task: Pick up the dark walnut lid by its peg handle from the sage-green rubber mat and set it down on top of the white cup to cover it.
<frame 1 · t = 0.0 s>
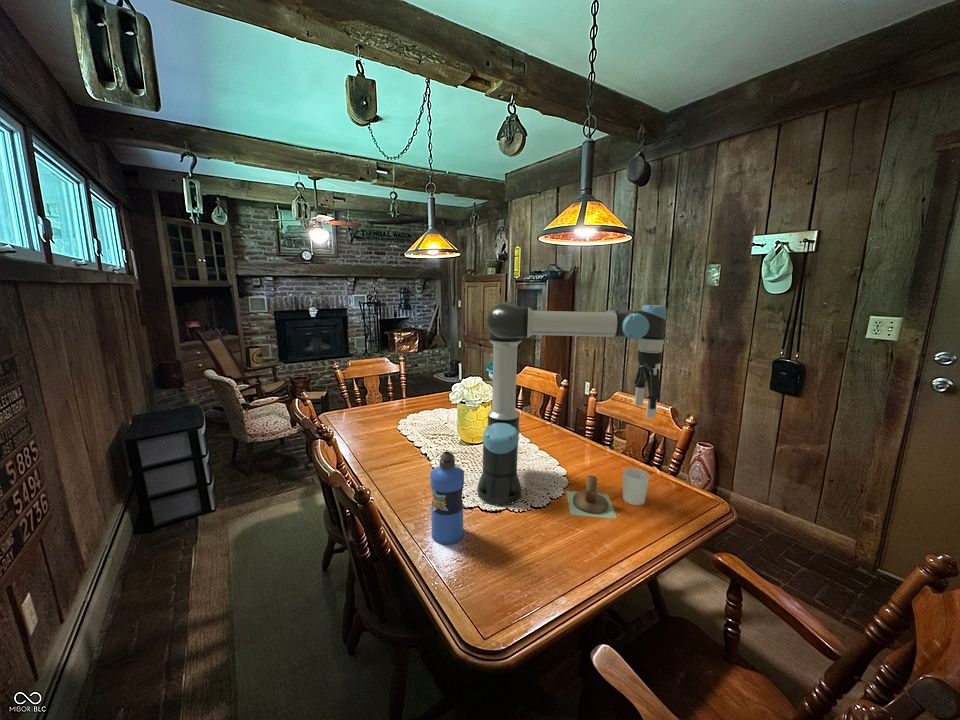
hand: (644, 411, 130), 28 cm above the table, fingers open, 13 cm apart
mat: (589, 505, 122), on the table
white cup: (633, 501, 125), on the table
water bottle: (447, 534, 107), on the table
lid: (590, 503, 122), point 1 cm above the table, touching mat
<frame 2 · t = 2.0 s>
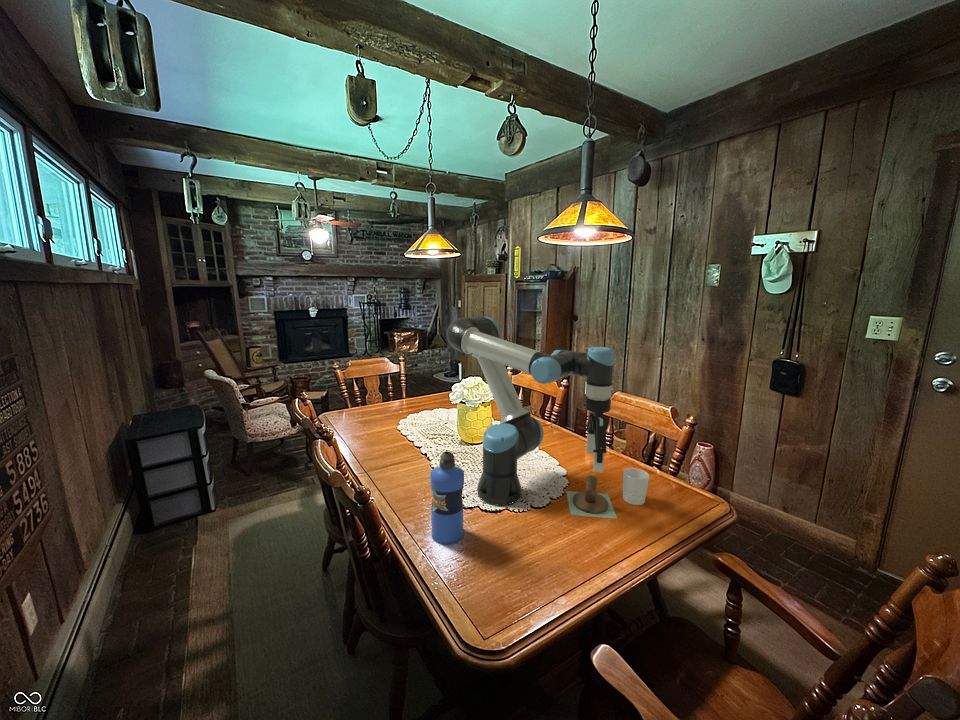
hand: (594, 461, 119), 15 cm above the table, fingers open, 13 cm apart
nothing on the table moved.
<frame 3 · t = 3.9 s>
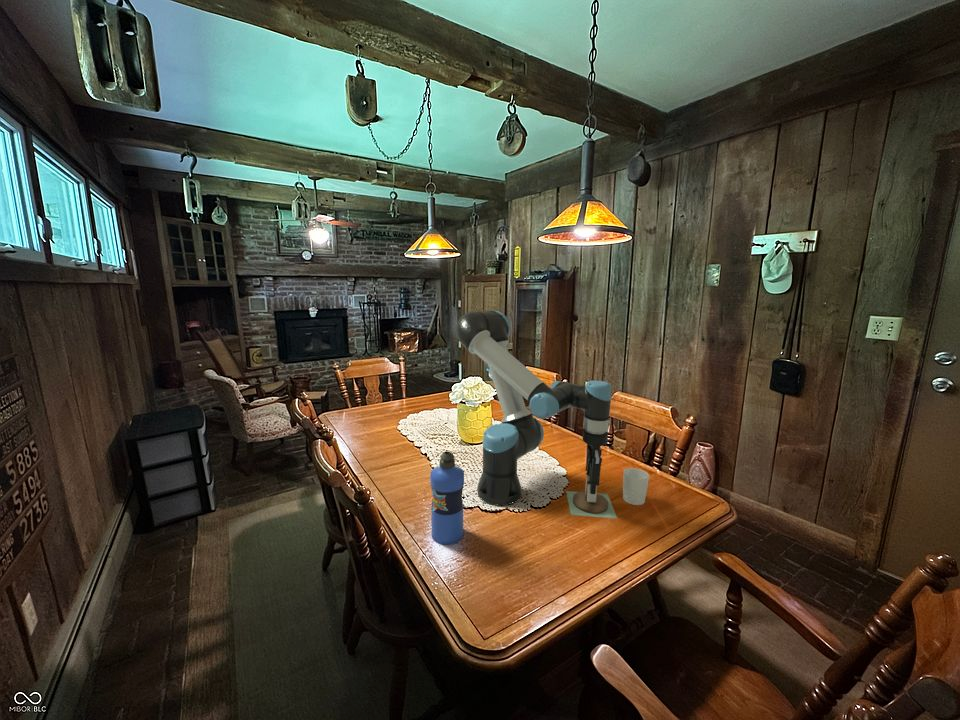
hand: (590, 498, 121), 3 cm above the table, fingers closed on lid, 3 cm apart
lid: (590, 503, 122), point 1 cm above the table, touching gripper
everything else where it was.
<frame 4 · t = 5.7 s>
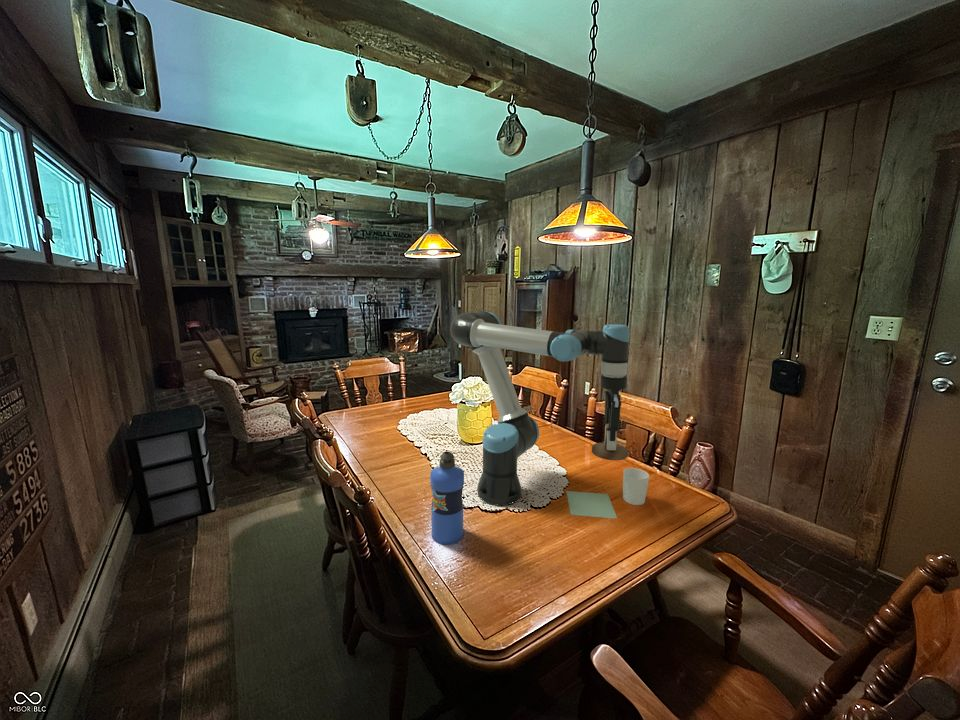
hand: (610, 447, 118), 20 cm above the table, fingers closed on lid, 3 cm apart
lid: (609, 452, 119), point 18 cm above the table, touching gripper
everything else where it was.
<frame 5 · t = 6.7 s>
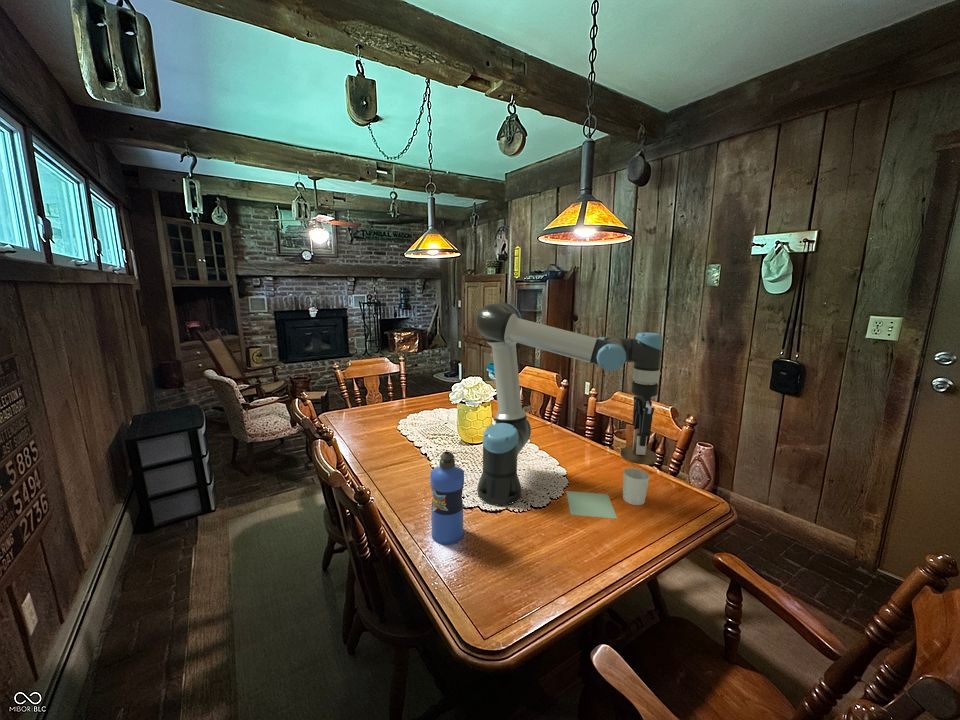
hand: (638, 451, 122), 18 cm above the table, fingers closed on lid, 3 cm apart
lid: (638, 456, 122), point 16 cm above the table, touching gripper
everything else where it was.
when the fingers open (14 cm above the table, at t = 7.5 s): lid drops 2 cm, resting on white cup.
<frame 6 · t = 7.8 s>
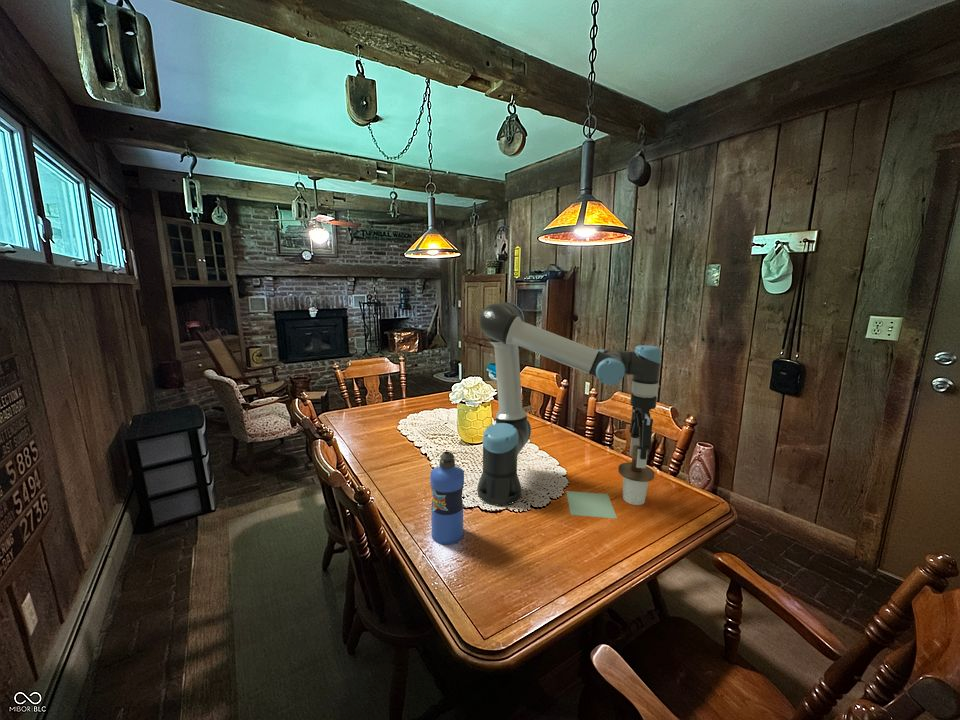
hand: (637, 461, 122), 14 cm above the table, fingers open, 7 cm apart
white cup: (633, 501, 125), on the table, touching lid
lid: (636, 473, 123), point 10 cm above the table, touching white cup
everything else where it was.
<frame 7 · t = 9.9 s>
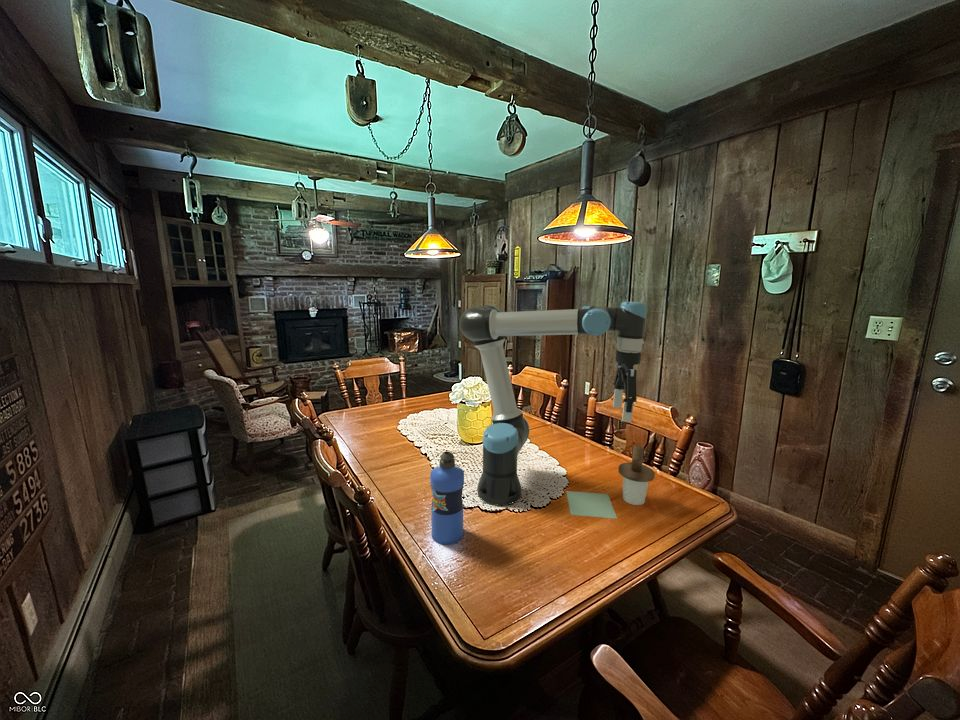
hand: (621, 414, 123), 29 cm above the table, fingers open, 13 cm apart
nothing on the table moved.
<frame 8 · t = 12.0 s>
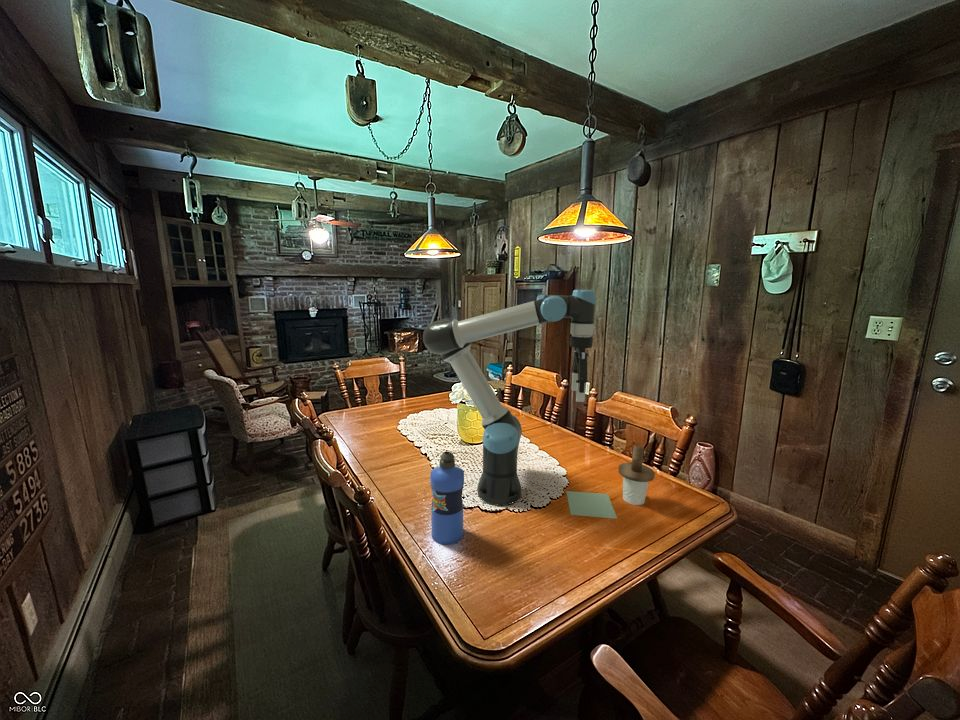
hand: (577, 395, 131), 33 cm above the table, fingers open, 13 cm apart
nothing on the table moved.
at the end: lid 0.1 cm from the white cup (horizontally); lid point 9.9 cm above the table; lid tilted 0° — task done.
